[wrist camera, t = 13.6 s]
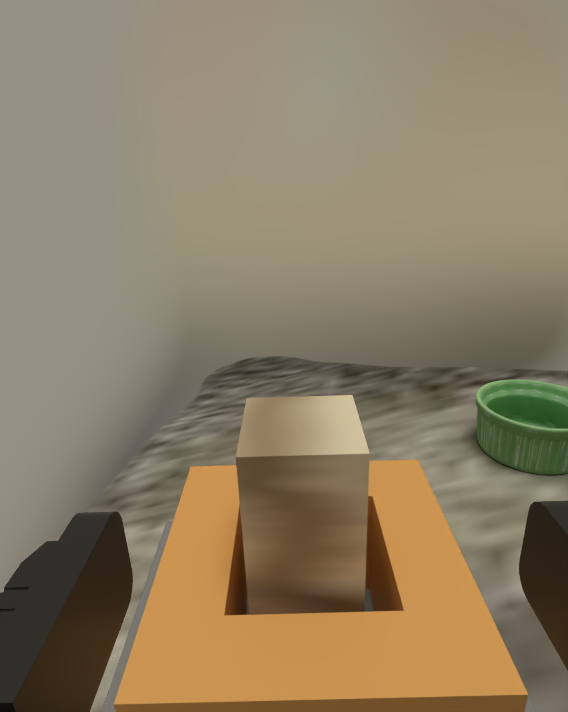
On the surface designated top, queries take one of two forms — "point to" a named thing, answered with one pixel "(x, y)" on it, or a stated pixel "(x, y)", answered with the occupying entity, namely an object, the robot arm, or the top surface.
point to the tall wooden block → (303, 504)
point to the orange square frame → (315, 619)
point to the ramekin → (524, 425)
